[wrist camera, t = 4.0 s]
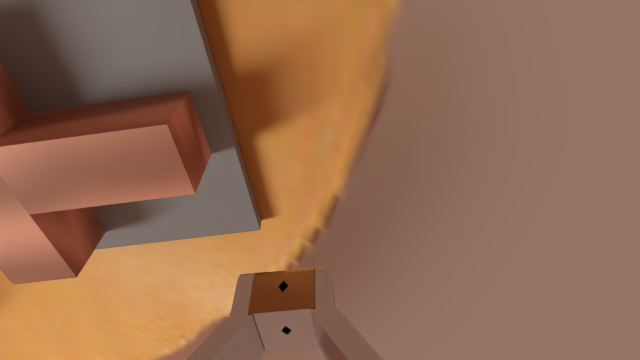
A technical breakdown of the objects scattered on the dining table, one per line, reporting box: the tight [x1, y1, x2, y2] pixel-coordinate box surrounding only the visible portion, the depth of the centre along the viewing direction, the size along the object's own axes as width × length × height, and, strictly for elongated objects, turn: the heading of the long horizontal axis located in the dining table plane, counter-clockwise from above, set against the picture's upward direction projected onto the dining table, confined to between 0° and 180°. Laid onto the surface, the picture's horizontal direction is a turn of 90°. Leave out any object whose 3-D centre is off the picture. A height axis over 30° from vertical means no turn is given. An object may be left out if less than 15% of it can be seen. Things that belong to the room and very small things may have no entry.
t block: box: [0, 63, 211, 284], centre depth 20 cm, size 14×13×4 cm
